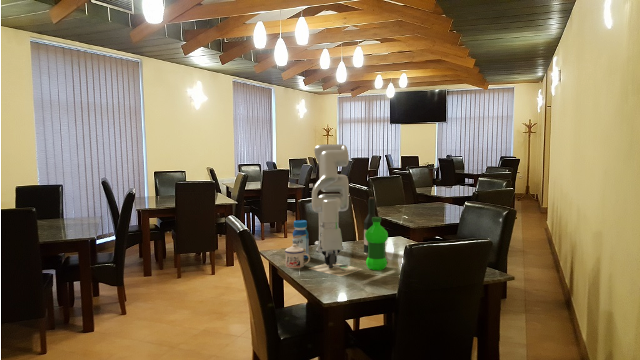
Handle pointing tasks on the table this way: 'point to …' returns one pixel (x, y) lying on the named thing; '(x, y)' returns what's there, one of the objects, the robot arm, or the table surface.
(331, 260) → the sledge mallet
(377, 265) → the plastic bottle
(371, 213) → the wine bottle
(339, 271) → the board
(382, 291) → the table surface
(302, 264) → the teacup with lid
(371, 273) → the table surface
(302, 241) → the beverage bottle
